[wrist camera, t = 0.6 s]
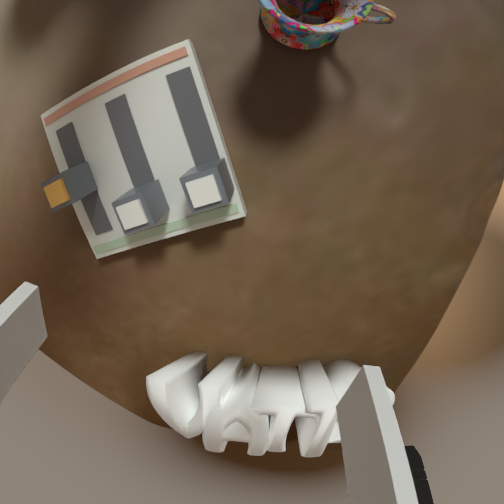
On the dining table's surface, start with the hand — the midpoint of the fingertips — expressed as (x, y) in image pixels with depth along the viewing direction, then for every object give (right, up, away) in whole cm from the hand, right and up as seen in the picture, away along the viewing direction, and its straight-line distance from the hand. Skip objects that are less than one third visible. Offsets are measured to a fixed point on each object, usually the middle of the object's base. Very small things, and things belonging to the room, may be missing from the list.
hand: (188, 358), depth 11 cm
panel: (-11, +15, +22) cm, 29 cm away
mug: (+9, +28, +15) cm, 33 cm away
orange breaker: (-17, +12, +21) cm, 30 cm away
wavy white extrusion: (+6, -16, +37) cm, 41 cm away
